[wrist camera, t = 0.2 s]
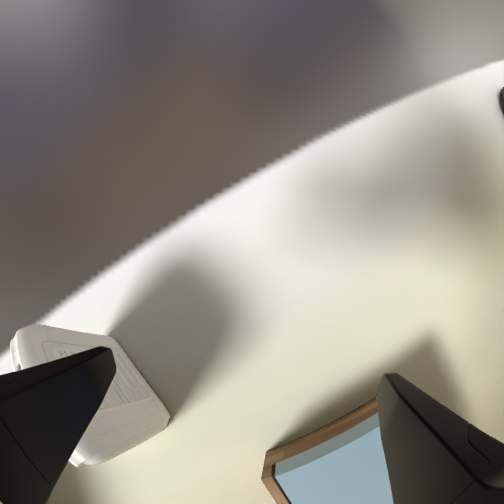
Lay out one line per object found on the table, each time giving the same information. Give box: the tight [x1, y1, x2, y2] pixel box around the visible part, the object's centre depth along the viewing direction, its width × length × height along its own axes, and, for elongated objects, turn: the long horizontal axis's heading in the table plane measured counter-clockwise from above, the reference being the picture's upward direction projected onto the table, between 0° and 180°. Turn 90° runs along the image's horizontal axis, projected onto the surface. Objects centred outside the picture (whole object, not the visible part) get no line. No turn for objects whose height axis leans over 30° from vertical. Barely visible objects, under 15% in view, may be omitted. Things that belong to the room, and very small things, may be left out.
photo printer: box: [10, 325, 170, 467], centre depth 16 cm, size 10×4×12 cm, turn 43°
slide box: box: [261, 397, 378, 504], centre depth 15 cm, size 12×12×6 cm
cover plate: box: [275, 413, 393, 504], centre depth 13 cm, size 12×10×2 cm
